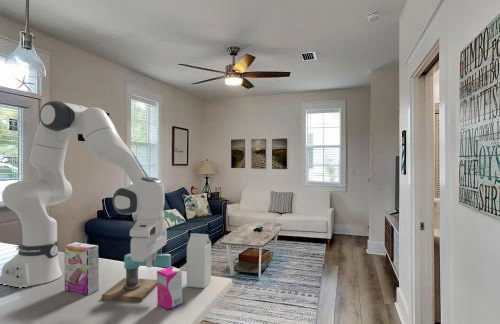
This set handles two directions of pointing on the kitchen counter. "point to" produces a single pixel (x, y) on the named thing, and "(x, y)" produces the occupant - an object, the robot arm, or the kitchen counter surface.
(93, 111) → the robot arm
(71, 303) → the kitchen counter surface
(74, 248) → the candy bar box
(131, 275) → the tan square panel
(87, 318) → the kitchen counter surface
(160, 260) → the teal lever handle
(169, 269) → the supplement box
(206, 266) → the milk carton
